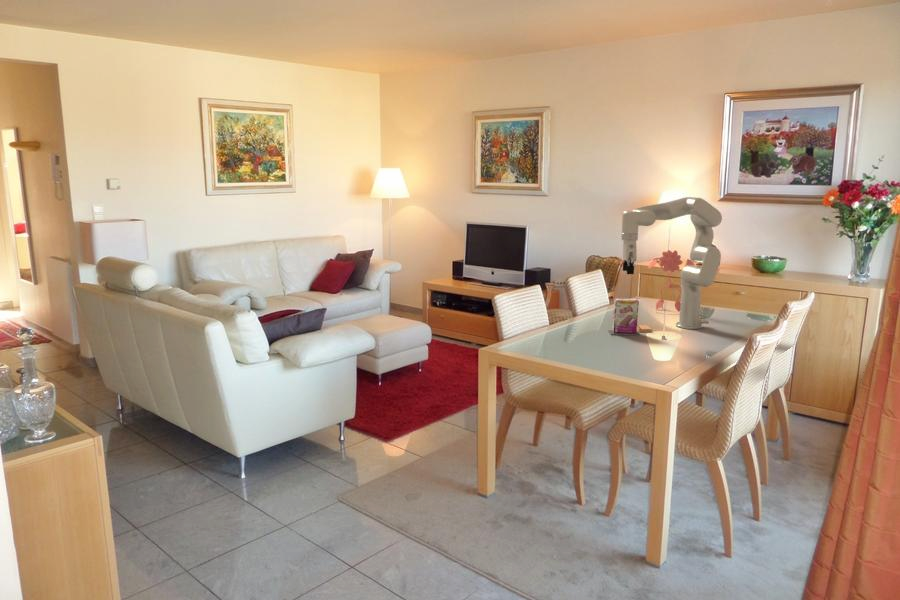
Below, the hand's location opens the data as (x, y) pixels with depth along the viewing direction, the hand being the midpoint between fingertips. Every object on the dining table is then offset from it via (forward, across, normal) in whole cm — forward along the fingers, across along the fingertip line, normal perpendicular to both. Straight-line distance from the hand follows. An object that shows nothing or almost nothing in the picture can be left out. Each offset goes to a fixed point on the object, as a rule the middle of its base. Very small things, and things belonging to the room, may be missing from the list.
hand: (628, 272), depth 318 cm
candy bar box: (+30, 0, +1) cm, 30 cm away
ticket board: (+31, +7, -10) cm, 33 cm away
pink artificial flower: (+31, +51, -33) cm, 69 cm away
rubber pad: (+30, 0, +1) cm, 30 cm away
